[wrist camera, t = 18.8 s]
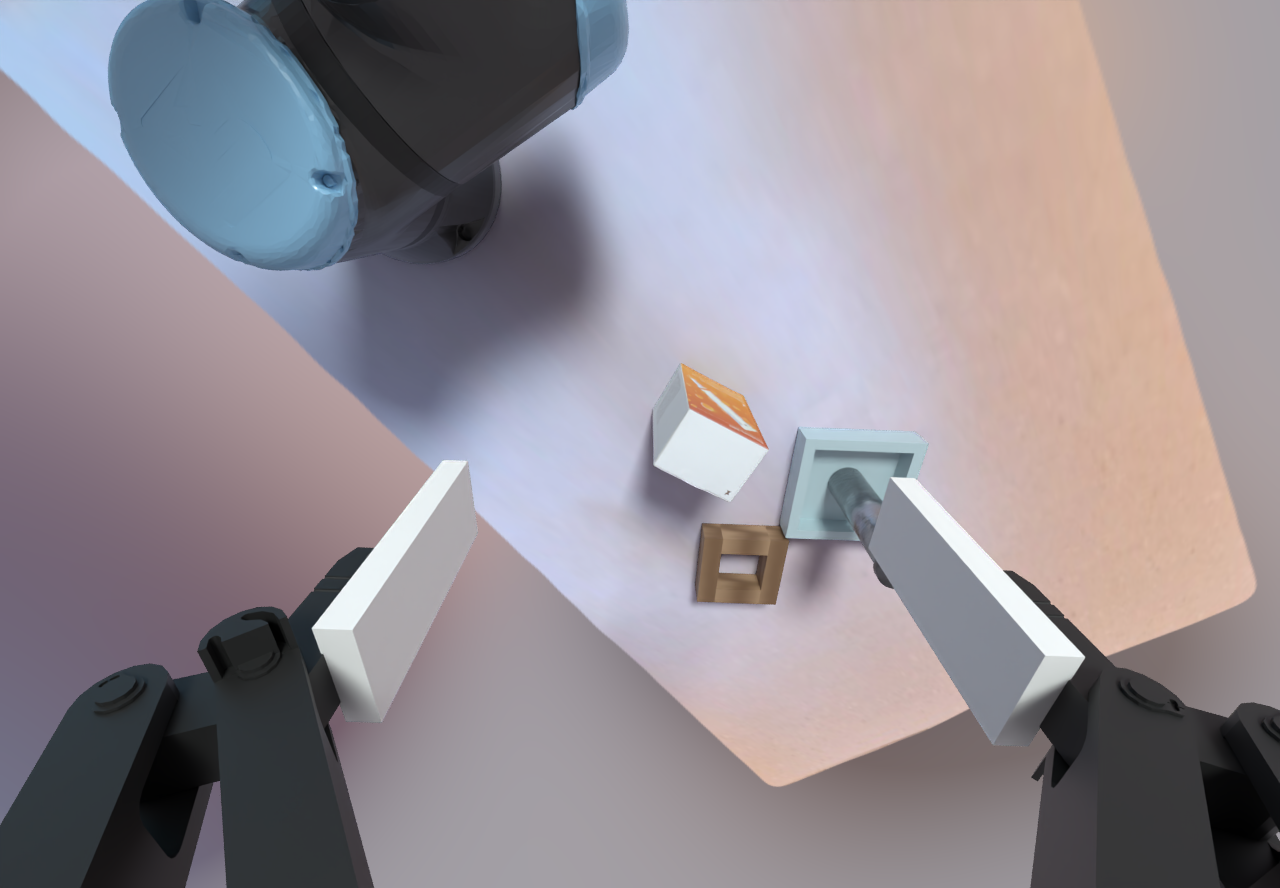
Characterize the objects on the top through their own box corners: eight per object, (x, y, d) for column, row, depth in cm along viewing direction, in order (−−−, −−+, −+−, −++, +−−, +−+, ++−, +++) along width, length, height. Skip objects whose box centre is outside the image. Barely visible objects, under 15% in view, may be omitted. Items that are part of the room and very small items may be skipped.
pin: (820, 498, 58) (871, 588, 45) (828, 463, 56) (884, 546, 43) (861, 500, 58) (923, 590, 45) (871, 465, 56) (939, 548, 43)
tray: (779, 522, 60) (785, 538, 58) (798, 427, 54) (806, 439, 52) (884, 526, 60) (895, 542, 58) (915, 431, 54) (928, 443, 52)
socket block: (695, 584, 65) (697, 601, 62) (702, 523, 60) (704, 538, 58) (770, 587, 65) (775, 604, 62) (782, 526, 60) (789, 541, 58)
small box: (744, 394, 53) (772, 450, 41) (713, 441, 55) (730, 505, 44) (679, 360, 51) (689, 407, 40) (650, 409, 54) (651, 468, 42)
